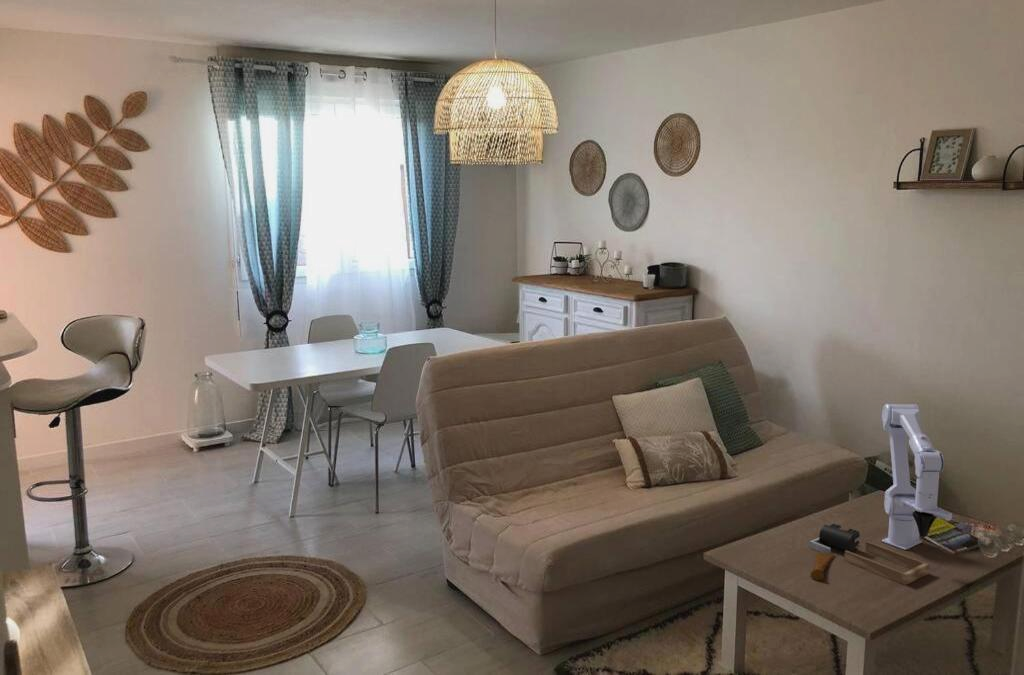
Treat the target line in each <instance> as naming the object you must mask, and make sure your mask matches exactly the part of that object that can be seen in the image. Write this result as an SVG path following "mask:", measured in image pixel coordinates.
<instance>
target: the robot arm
mask: <svg viewBox="0 0 1024 675" xmlns="http://www.w3.org/2000/svg"><path fill="white" fill-rule="evenodd" d="M881 411H882V412H881V417H882V418H881V419H882V427H883V431H885V432H887V433H888V437H889V438H888V439H889V446H890V448H889V449H890V458H891V460H890V461H891V469H892V482H893V485H891V486H890V487H889V488H888V489H886V490H885V492H884V502H883V503H884V504H883V506H884V507H883V508H884V511H885V513H886V514H887V515H888V516H889V519H888V520H889V521H888V535H887V537H886V538H882V540H881V542H882V543H885V544H887V545H891V546H893V547H896V548H899V549H902V550H908V549H910V548H912V547H915V546H917V545H919V544H922V542H923V541H922V540H920V537H921V538H925V537H928V534H929V531H930V530H931V527H932V525H933V523H934V522H935V520H936V519H937V518H939V519H943V520H944V521H947V522H949V521H951V520H952V519H953V512H950V511H947V510H945V509H943V508H941V507H939V506H938V497H939V485H940V483H939V482H940V473H942V472H943V471H944V468H945V459H944V455H943V453H942V452H941V451H939V450H938V449H935V447H934V446H933V443H932V442H931V440H930V438H929V436H928V435H927V434H925V433H923V432H922V428H921V425H920V421H921V410H920V407H919V406H918V404H917V403H914V404H897V403H896V404H893V403H892V404H891V403H886V404H884V405H883V407H882V410H881ZM907 436H908V438H909V440H908V442H907ZM908 445H909V447H910V449H911V452H912V453H913V455H914V456H913V457H914V466H915V475H916V486H915V487H913V486H912V485H911V477H910V467H909V465H910V464H909V455H908V454H909V453H908Z"/></svg>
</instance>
